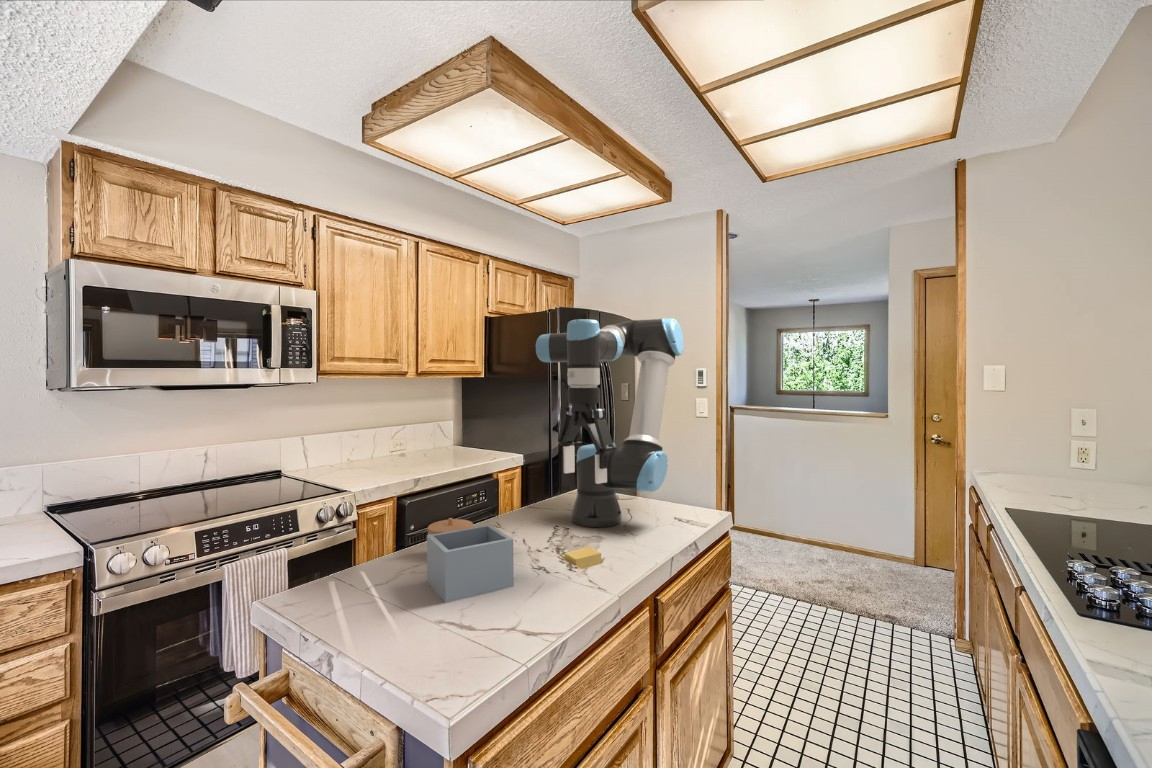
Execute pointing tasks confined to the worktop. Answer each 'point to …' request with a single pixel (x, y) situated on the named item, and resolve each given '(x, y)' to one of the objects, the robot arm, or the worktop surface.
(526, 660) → the worktop surface
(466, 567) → the tub
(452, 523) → the lidded jar
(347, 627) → the worktop surface
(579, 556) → the lid
